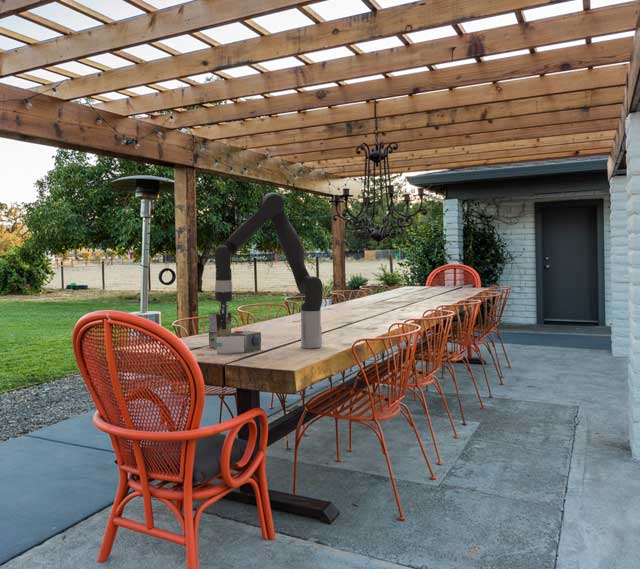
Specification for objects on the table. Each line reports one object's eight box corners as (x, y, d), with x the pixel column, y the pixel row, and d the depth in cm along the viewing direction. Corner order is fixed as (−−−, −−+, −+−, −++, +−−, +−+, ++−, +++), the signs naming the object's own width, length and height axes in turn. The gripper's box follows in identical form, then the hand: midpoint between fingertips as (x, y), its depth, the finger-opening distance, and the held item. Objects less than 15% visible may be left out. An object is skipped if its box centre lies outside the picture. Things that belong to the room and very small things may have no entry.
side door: (216, 352, 248) (216, 336, 248) (246, 351, 249) (246, 335, 249) (216, 353, 247) (216, 336, 246) (246, 352, 248) (246, 336, 248)
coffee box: (218, 348, 261) (217, 314, 260) (208, 347, 265) (207, 313, 264) (232, 345, 269) (231, 312, 268) (222, 344, 272) (221, 311, 271)
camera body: (244, 347, 263) (244, 328, 263) (263, 349, 257) (263, 330, 256) (230, 350, 255) (230, 331, 255) (249, 352, 249) (249, 333, 248)
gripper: (216, 289, 255) (216, 327, 256) (213, 291, 242) (214, 331, 243) (232, 289, 256) (233, 327, 257) (231, 291, 243) (231, 331, 244)
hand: (223, 329), depth 250 cm, fingers closed
